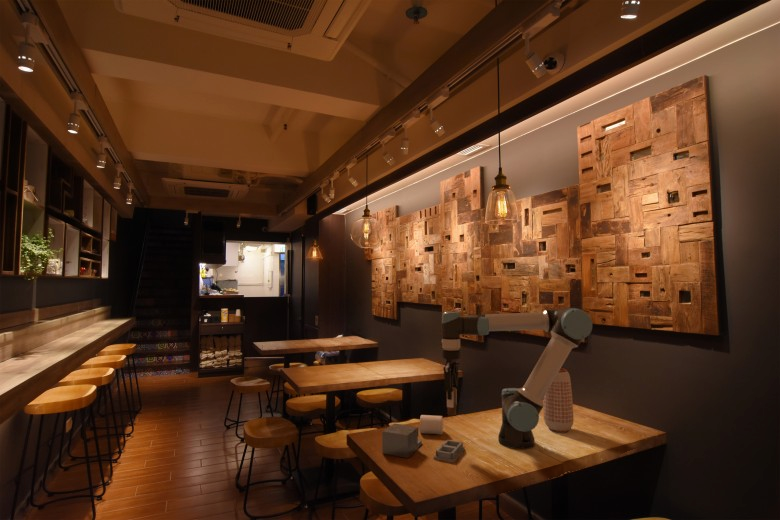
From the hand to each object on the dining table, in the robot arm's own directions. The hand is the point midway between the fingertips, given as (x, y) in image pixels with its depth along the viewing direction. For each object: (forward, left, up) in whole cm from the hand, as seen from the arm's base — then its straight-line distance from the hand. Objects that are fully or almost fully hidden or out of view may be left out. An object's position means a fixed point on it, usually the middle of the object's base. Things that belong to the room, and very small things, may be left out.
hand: (451, 405), depth 176 cm
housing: (+19, +10, -18) cm, 28 cm away
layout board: (+19, +3, -18) cm, 26 cm away
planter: (-37, -48, -19) cm, 64 cm away
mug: (+16, -18, -19) cm, 31 cm away
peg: (0, 0, -4) cm, 4 cm away
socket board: (0, +4, -18) cm, 19 cm away
